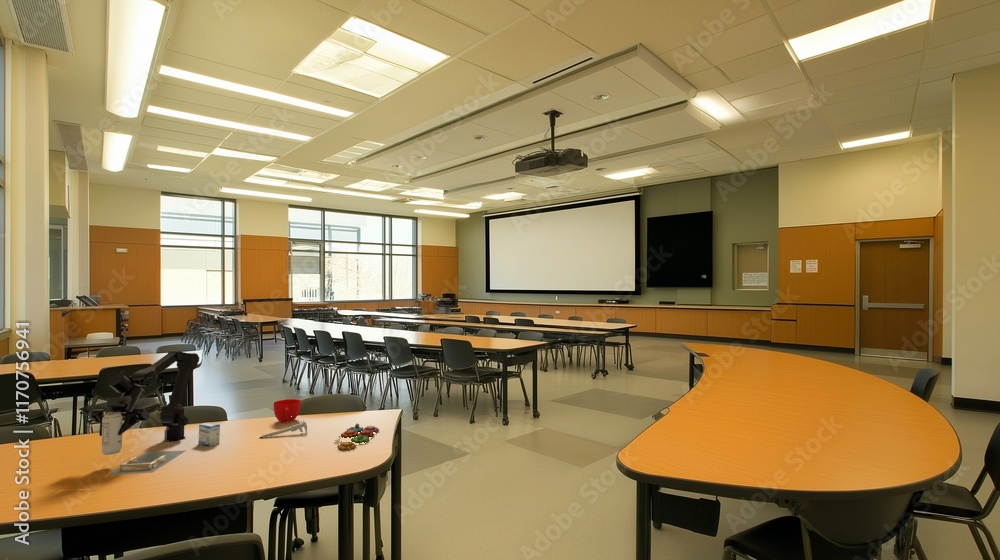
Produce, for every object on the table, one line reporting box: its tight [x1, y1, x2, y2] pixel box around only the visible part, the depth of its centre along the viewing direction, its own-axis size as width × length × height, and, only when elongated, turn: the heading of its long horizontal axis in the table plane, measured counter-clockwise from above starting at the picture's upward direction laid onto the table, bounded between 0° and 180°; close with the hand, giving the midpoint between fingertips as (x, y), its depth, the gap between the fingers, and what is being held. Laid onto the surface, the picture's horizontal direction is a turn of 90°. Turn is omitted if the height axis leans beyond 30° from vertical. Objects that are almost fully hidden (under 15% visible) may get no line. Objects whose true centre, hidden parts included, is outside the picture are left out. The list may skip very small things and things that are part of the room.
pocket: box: [119, 455, 166, 471], centre depth 178 cm, size 9×11×2 cm
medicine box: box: [198, 422, 221, 447], centre depth 204 cm, size 8×4×9 cm, turn 68°
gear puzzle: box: [334, 423, 380, 451], centre depth 211 cm, size 31×16×4 cm, turn 179°
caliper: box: [260, 420, 308, 438], centre depth 217 cm, size 20×1×6 cm, turn 115°
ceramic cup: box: [272, 398, 302, 423], centre depth 239 cm, size 13×17×10 cm
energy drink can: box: [101, 411, 124, 456], centre depth 177 cm, size 6×6×15 cm
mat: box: [107, 450, 187, 476], centre depth 182 cm, size 24×15×1 cm, turn 9°
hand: (109, 435), depth 176 cm, fingers closed on energy drink can, 6 cm apart
